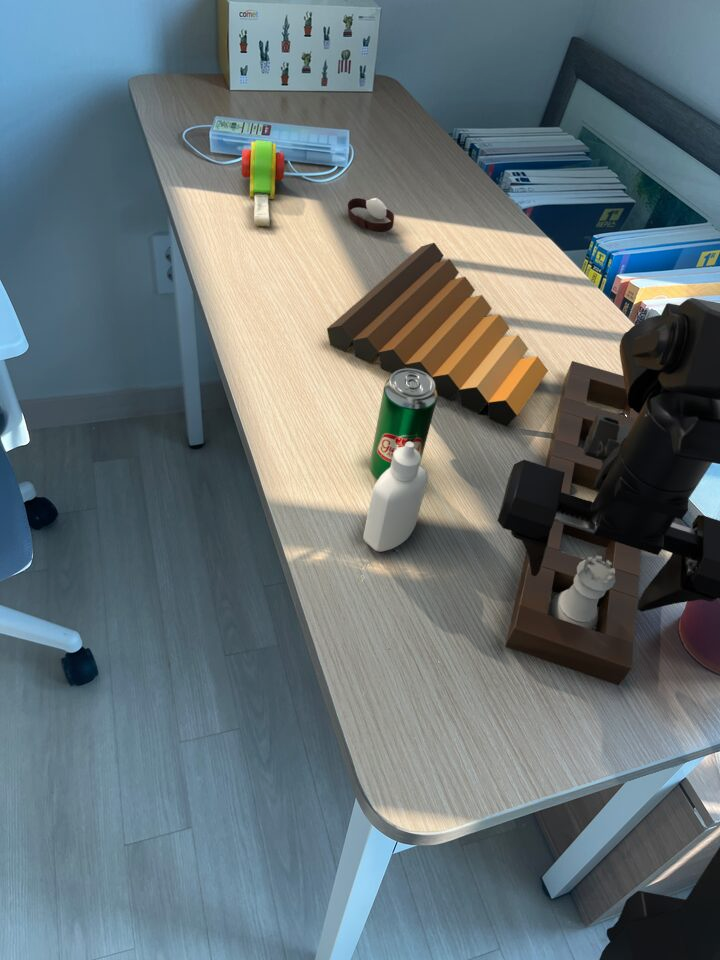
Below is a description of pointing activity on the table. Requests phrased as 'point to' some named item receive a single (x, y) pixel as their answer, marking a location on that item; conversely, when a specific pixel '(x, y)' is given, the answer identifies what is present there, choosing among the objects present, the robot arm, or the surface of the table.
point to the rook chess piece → (584, 593)
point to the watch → (375, 209)
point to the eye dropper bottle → (396, 500)
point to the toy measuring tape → (262, 176)
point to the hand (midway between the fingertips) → (586, 589)
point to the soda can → (403, 416)
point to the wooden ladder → (615, 629)
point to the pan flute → (441, 336)
